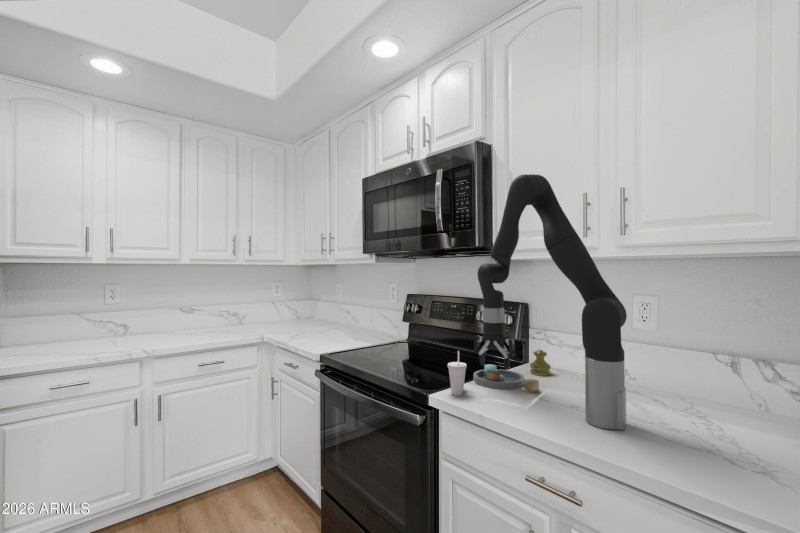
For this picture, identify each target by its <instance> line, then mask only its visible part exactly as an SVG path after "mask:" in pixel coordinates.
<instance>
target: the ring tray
mask: <svg viewBox="0 0 800 533" xmlns="http://www.w3.org/2000/svg"><path fill="white" fill-rule="evenodd" d="M497 371H499V372H500V382H496V381H490V380H487V379H486V378H484V369H479V370H476V371H474V372H473V375H472V377H473V378H472V381H473V382H474V383H475V384H476V385H479V386H481V387H485V388H490V389H495V390H496V389H497V390H513V389H519V388H522V387H523V386H525V376H524V375H523V374H521V373H520V372H516V371H514V370H509V369H507V370H506V369H502V368H501V369H500V368H499V369H497Z"/></svg>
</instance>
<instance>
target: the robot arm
mask: <svg viewBox="0 0 800 533" xmlns="http://www.w3.org/2000/svg"><path fill="white" fill-rule="evenodd" d="M527 206H532V208H534V210H535V211H536V213H537V215H538V217H539V219H540V220H541V223H542V228H543V232H542V234H543V242H544V246H545V248H546V250H547V252H548V255H550V258H551V260H552V261H553V262H554V264H555V265H556V267H557V269H559V270H560V272H562V274H563V275H564V276H565V277H566V278H567V279H568V280H569V282H571V284H573V285H574V286H575V288H576V290H578V292H579V294H580V295H581V297H582V299H583V301H584V303H585V305H584V307H583V309H582V313H581V335H582V336H581V337H582V340H581V341H582V346H583V350H584V367H585V368H584V369H585V371H584V374H585V375H584V382H585V384H584V385H585V386H584V387H585V389H584V391H585V392H584V395H585V398H584V401H585V402H584V404H585V406H584V407H585V408H584V410H585V411H584V412H585V413H584V414H585V421H586V422H587V423H588V424H589V425H592V426H594V427H597V428H600V429H605V430H616V431H617V430H619V431H624V430H625V427H626V425H627V400H626V399H627V390H626V389H627V388H626V387H625V382H626V381H625V380H626V379H625V378H626V377H625V350H624V348H623V346H622V345H623V344H622V327H623V326H624V325H625V324H626V321H627V317H628V316H627V311H626V308H625V306H624V304H623V303H622V301H621V300H620V299H619V298H618V297H617V295H616V294H615V293H614V292H613V291H612V289H611V288H610V286H609V285H608V283H607V282H606V281H605V280H604V277H603V276H602V275H601V273H600V271H599V269H598V268H597V265H596V263H595V262H594V260H593V258H592V256H591V255H590V253H589V251H588V249H587V248H586V245H585V244H584V242H583V240H582V239H581V237H580V236H579V234H578V233H577V232H576V230H575V228H574V227H573V225H572V223H571V222H570V220H569V218H568V216H567V215H566V213H565V212H564V210H563V208H562V207H561V205H560V203H559V200H558V199H557V196H556V194H555V192H554V189H553V187H552V185H551V184H550V182H549V181H548V179H547V178H546V177H544V176H543V175H541V174H529V173H528V174H527V173H526V174H519V175H517V176H516V177H514V178H513V180H511V184H510V186H509V188H508V192H507V197H506V201H505V206H504V210H503V215H502V218H501V223H500V227H499V230H498V232H497V236H496V238H495V240H494V242H493V246H492V247H491V250H490V257H491V258H492V260H494V261H496V262H495V263H488V262H487V263H482V264H481V265H480V266H479V267H478V270H477V280H478V283H479V287H480V290H481V295H482V307H483V308H482V336H481V335H480V334H478V335H476V336H474V339H473V340H474V344H473V352H474V353H476V354H478V355H479V356H478V358H479V365H480V366H481V367H484V365H486V352H487V351H488V350H490V351H492V350H493V351H496V352H497V351H499V352H500V354H502V356H503V357H504V358H503V370H509V368H510V367H511V359H512V358H514V357H515V356H516V345H515V344H516V343H515V339H514V338H506V317H505V316H506V314H505V306H504V304H505V303H504V302H505V300H504V292H502V291H501V290H499V289H498V290H497V289H495V287H494V284H503V283H504V282H506V280H507V279H508V278H509V277H510V276H509V275H510V270H511V261H512V257H513V255H514V252H515V250H516V249H517V246H518V243H519V237H520V228H519V227H520V225H519V224H520V219H521V217H522V214H523V212H524V210H525V209H526V207H527ZM482 342H483V346H482V347H481V343H482ZM505 344H506V345H507V346H508V349H507V347H506V346H505Z"/></svg>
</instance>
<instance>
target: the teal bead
mask: <svg viewBox="0 0 800 533" xmlns="http://www.w3.org/2000/svg"><path fill="white" fill-rule="evenodd" d="M483 367H484V368H483V370H484V378H486V379H487V371H488V370H497V368H498V367H497V365H495V364H491V363H489V364H486V363H485V365H484V366H483Z"/></svg>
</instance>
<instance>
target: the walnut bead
mask: <svg viewBox="0 0 800 533" xmlns="http://www.w3.org/2000/svg"><path fill="white" fill-rule="evenodd" d="M487 380H490V381H496V382H500V372H499V371H497V370H488V371H487Z"/></svg>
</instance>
